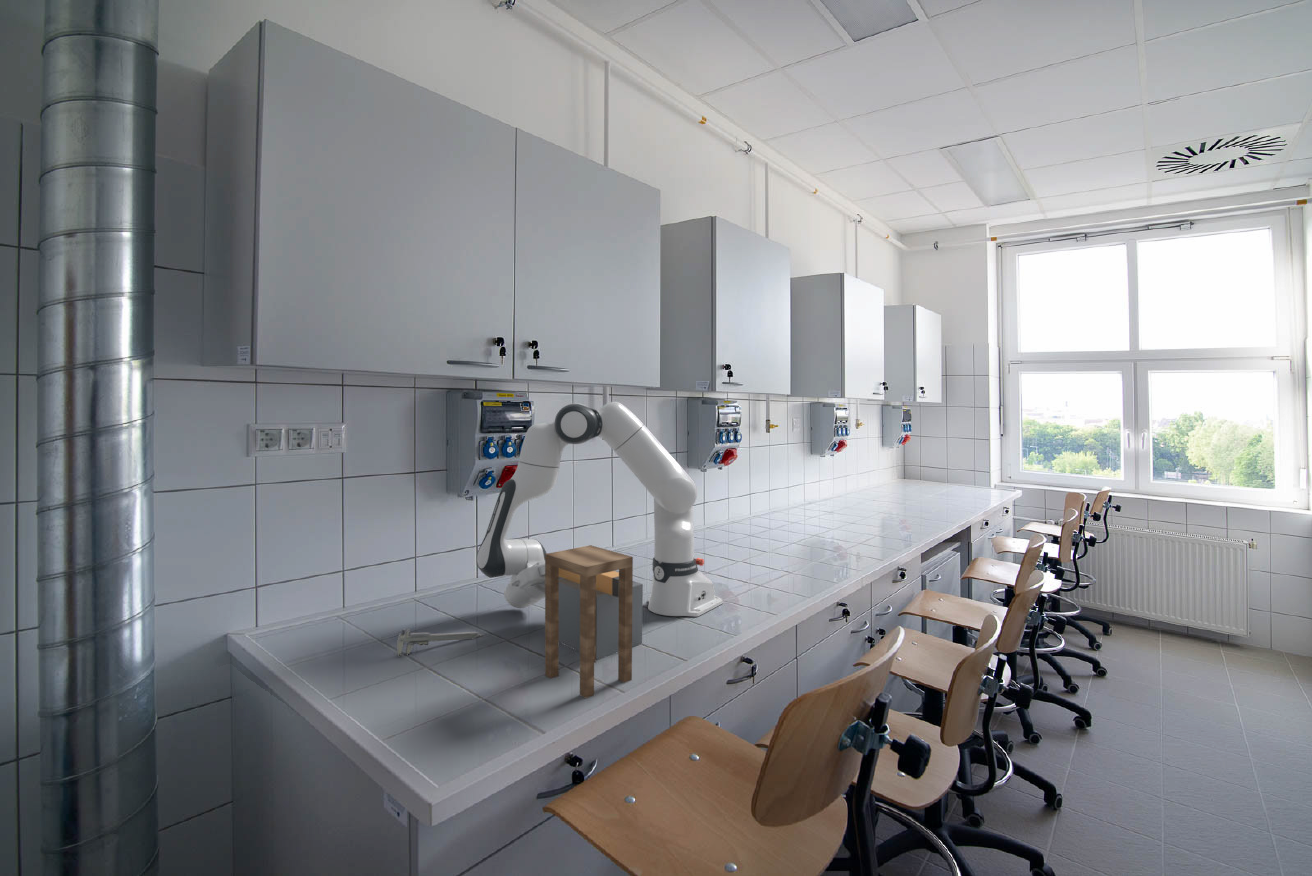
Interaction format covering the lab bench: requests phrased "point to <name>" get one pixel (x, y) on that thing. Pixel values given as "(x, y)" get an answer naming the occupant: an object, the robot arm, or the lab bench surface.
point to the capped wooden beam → (597, 581)
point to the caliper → (429, 638)
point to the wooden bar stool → (588, 609)
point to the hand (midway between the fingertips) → (571, 561)
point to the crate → (597, 618)
